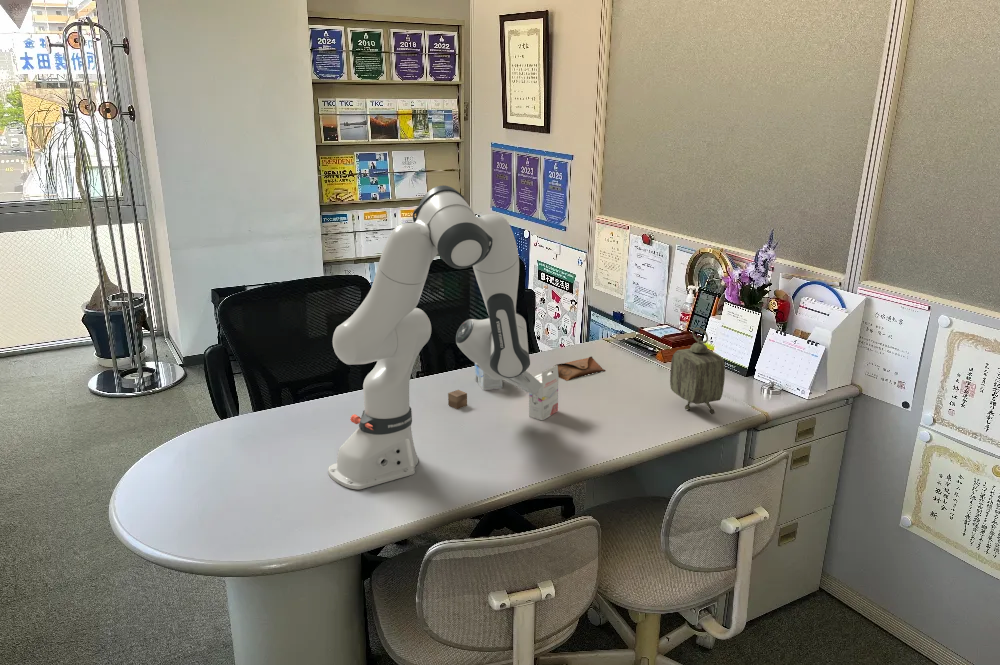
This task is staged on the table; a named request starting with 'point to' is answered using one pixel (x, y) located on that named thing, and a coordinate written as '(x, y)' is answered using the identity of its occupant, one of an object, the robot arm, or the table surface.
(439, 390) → the table surface
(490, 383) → the light bulb box
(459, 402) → the walnut block
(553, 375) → the ink cartridge box
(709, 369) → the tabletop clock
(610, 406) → the table surface
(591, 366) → the sunglasses case
